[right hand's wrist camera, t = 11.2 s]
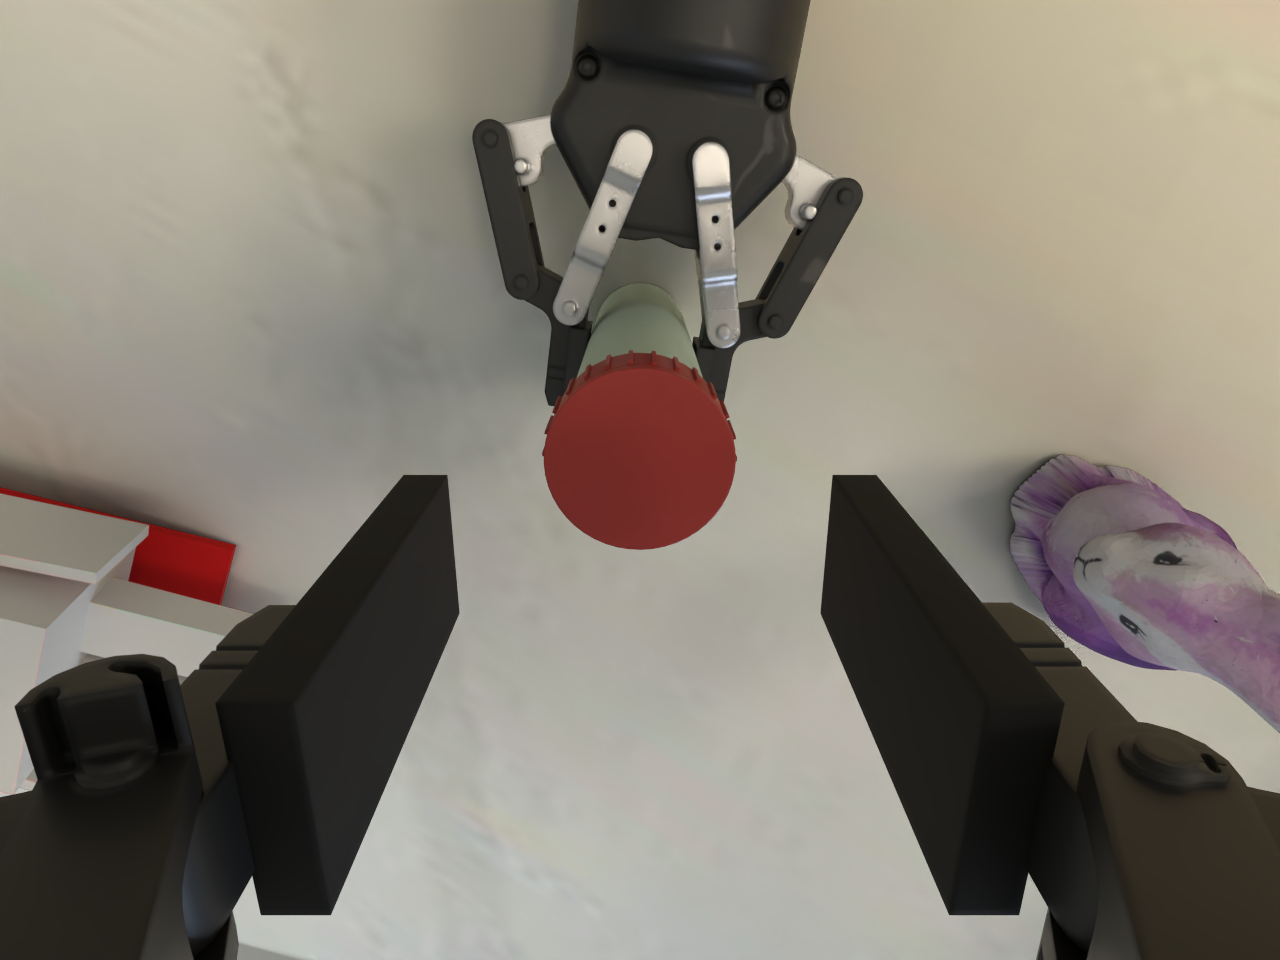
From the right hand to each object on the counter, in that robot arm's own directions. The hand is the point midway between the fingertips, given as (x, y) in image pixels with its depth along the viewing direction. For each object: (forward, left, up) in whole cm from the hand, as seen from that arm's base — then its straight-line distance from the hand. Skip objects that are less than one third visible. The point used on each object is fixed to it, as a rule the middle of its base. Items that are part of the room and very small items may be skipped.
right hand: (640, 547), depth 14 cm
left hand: (+1, +2, -17) cm, 17 cm away
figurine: (-18, +16, -24) cm, 34 cm away
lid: (0, 0, -5) cm, 5 cm away
